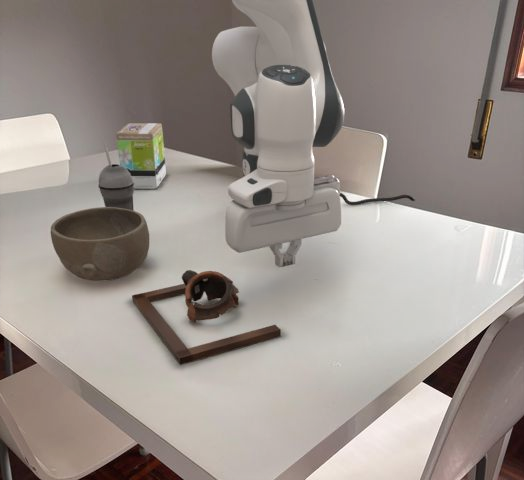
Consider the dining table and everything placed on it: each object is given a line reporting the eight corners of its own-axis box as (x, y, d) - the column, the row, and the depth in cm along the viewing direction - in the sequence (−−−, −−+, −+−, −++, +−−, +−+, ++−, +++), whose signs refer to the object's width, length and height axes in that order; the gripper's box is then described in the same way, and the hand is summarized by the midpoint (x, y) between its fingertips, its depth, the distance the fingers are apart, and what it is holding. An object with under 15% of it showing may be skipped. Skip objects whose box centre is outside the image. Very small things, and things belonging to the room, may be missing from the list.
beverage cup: (133, 244, 119) (119, 146, 109) (101, 242, 121) (84, 145, 110) (145, 232, 125) (134, 138, 115) (115, 230, 127) (101, 137, 116)
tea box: (158, 189, 154) (152, 132, 146) (122, 189, 154) (113, 132, 146) (167, 174, 166) (162, 121, 158) (133, 175, 166) (126, 121, 159)
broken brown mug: (255, 309, 95) (248, 282, 88) (217, 349, 92) (207, 324, 85) (204, 275, 99) (193, 246, 92) (167, 312, 97) (153, 285, 90)
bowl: (108, 299, 98) (98, 245, 92) (39, 277, 106) (27, 226, 100) (172, 265, 110) (167, 215, 105) (106, 247, 118) (98, 200, 113)
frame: (219, 281, 103) (219, 275, 103) (280, 336, 87) (280, 329, 86) (132, 301, 97) (131, 295, 96) (180, 365, 80) (179, 358, 79)
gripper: (329, 168, 94) (325, 246, 102) (218, 187, 86) (223, 270, 94) (352, 177, 89) (346, 258, 97) (236, 199, 81) (240, 285, 89)
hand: (285, 264), depth 95 cm, fingers closed
